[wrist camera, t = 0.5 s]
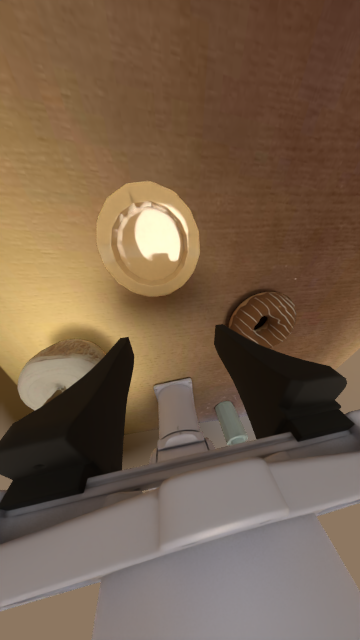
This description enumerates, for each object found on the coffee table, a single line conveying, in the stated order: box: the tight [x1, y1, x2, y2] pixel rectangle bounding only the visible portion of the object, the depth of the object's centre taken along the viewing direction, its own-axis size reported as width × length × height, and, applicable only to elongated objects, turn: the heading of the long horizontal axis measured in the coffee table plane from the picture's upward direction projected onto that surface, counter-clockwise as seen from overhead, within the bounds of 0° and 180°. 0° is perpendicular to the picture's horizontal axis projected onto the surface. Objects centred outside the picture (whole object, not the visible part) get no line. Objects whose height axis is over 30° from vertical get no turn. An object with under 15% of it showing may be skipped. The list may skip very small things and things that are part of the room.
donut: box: [229, 292, 296, 348], centre depth 23 cm, size 11×11×4 cm
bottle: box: [215, 401, 248, 445], centre depth 34 cm, size 5×5×10 cm
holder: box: [96, 181, 200, 297], centre depth 16 cm, size 10×10×3 cm
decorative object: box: [18, 339, 105, 410], centre depth 18 cm, size 9×9×10 cm
